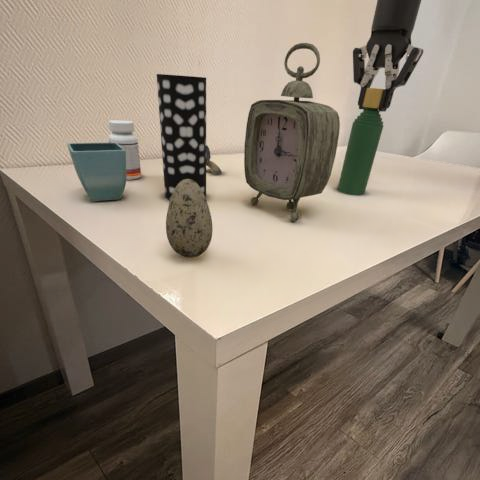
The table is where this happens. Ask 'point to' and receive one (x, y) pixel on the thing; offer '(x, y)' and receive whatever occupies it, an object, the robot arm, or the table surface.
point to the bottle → (361, 152)
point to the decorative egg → (188, 220)
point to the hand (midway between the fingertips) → (372, 109)
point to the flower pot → (100, 169)
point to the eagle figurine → (212, 163)
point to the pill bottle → (126, 146)
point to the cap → (372, 97)
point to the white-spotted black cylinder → (182, 129)
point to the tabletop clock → (291, 142)
